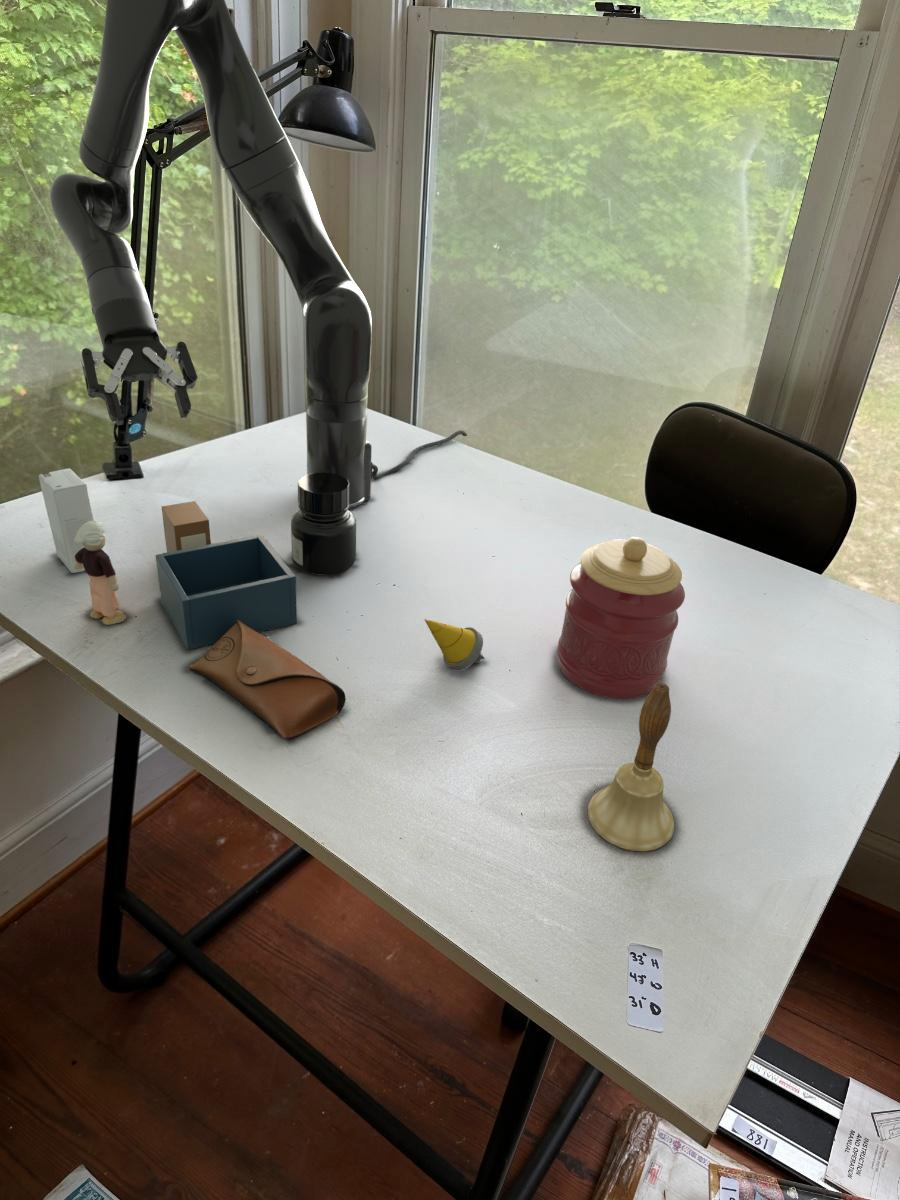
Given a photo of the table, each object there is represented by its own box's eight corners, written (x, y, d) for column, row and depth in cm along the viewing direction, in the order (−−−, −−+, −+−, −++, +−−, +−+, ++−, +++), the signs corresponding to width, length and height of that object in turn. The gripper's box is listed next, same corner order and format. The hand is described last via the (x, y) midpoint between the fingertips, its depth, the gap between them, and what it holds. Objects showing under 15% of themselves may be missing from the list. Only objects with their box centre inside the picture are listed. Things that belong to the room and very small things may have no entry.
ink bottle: (306, 540, 123) (304, 464, 117) (364, 550, 122) (366, 473, 116) (281, 572, 115) (278, 492, 109) (343, 583, 114) (344, 503, 108)
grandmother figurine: (141, 616, 104) (127, 524, 97) (118, 631, 101) (103, 537, 94) (93, 598, 107) (76, 507, 100) (69, 612, 104) (51, 520, 97)
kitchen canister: (536, 646, 105) (556, 519, 96) (624, 629, 110) (651, 506, 100) (591, 711, 95) (619, 576, 86) (685, 689, 100) (722, 559, 90)
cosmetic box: (104, 566, 113) (90, 483, 107) (69, 575, 111) (53, 491, 104) (87, 547, 117) (73, 466, 111) (53, 555, 115) (37, 473, 108)
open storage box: (264, 579, 114) (261, 534, 110) (297, 623, 105) (296, 576, 102) (161, 601, 107) (155, 554, 104) (187, 650, 99) (182, 601, 95)
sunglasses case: (181, 666, 96) (202, 612, 95) (227, 668, 101) (247, 618, 101) (287, 742, 86) (312, 683, 86) (331, 740, 92) (354, 685, 92)
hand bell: (576, 832, 80) (605, 700, 71) (599, 776, 86) (629, 649, 78) (664, 864, 77) (705, 731, 69) (681, 805, 84) (720, 676, 75)
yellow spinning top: (485, 685, 98) (427, 642, 93) (457, 679, 103) (400, 637, 97) (505, 645, 100) (449, 600, 95) (476, 641, 104) (422, 598, 99)
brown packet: (200, 552, 118) (195, 500, 114) (213, 573, 114) (209, 520, 110) (167, 559, 116) (161, 506, 112) (180, 580, 112) (174, 526, 108)
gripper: (67, 298, 110) (99, 412, 108) (178, 293, 117) (210, 401, 115) (66, 328, 116) (96, 437, 114) (171, 322, 123) (201, 424, 121)
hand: (153, 419), depth 115 cm, fingers open, 8 cm apart
